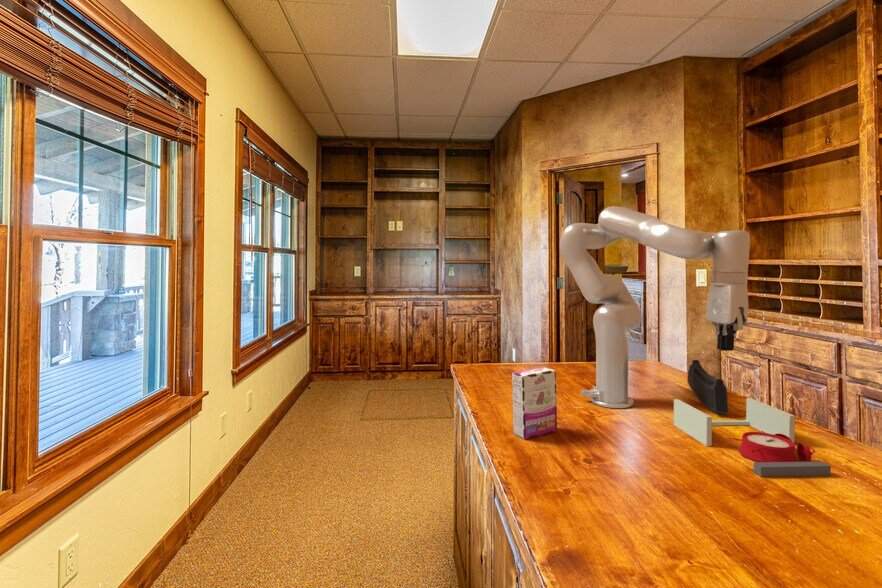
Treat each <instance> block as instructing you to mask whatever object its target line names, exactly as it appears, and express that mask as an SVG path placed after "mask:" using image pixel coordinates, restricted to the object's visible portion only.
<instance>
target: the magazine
mask: <svg viewBox="0 0 882 588" xmlns="http://www.w3.org/2000/svg"><path fill="white" fill-rule="evenodd" d="M686 381H687V384H688V385H689V387H690V389H691V390H692V392H693V394H694V396H696V398H697V399H698V400H699V402H700V401H701V402H702V403H701V404H702V405H704V406H705V407H706V408H707V409H708V410H709V409H710V410H711V411H713V412H714V413H716V414H718V415H721V414H722V415H726V414H727V415H728V414H729V413H730V409H729V400H728V389H727V386H726V384H724V379H722V378H715V377H714V376H712V375H710V374H709V373H708V372H707V371H706V370H705V369H704V368H703V367H702V364H701V363H700V360H699V359H692V362H691V364H690V365H689V368H688V371H687V380H686Z"/></svg>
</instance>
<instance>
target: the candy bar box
mask: <svg viewBox="0 0 882 588" xmlns="http://www.w3.org/2000/svg"><path fill="white" fill-rule="evenodd" d="M511 385H512V388H511V389H512V390H511V391H512V419H513V421H512V425H513V428H512V429H513V435H515V436H516V437H519V438H521V439H523V440H527V439H529V440H530V439H533V438H537V437H540V436H544V435H547V434H552V433H556V432H557V431H558V420H557V419H558V417H557V416H558V413H557V412H558V410H557V409H558V408H557V370H555V369H552V368H549V367H538V368H532V369H525V370H520V371H515V372H511Z"/></svg>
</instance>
